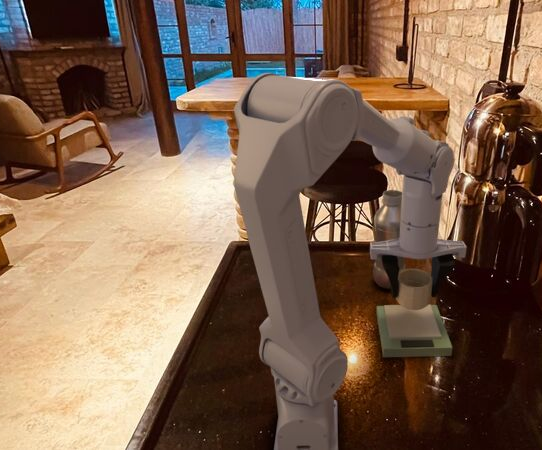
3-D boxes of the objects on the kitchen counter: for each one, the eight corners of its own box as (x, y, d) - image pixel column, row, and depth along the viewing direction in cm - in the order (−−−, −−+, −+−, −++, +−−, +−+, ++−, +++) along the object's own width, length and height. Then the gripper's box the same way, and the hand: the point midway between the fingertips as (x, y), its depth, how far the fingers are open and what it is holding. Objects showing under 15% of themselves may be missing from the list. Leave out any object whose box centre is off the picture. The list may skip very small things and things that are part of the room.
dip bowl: (433, 311, 65) (436, 287, 63) (397, 311, 65) (399, 288, 63) (426, 290, 70) (428, 268, 68) (393, 291, 70) (394, 268, 68)
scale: (451, 356, 65) (453, 345, 64) (383, 357, 65) (383, 346, 64) (435, 312, 75) (436, 302, 74) (376, 313, 75) (376, 303, 74)
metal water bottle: (404, 294, 80) (411, 201, 71) (370, 291, 81) (372, 199, 73) (406, 276, 86) (412, 188, 77) (374, 273, 87) (376, 186, 78)
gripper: (461, 207, 64) (451, 279, 70) (369, 208, 64) (367, 280, 70) (475, 227, 58) (463, 304, 64) (373, 229, 58) (370, 306, 64)
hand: (413, 293), depth 66 cm, fingers closed on dip bowl, 6 cm apart
